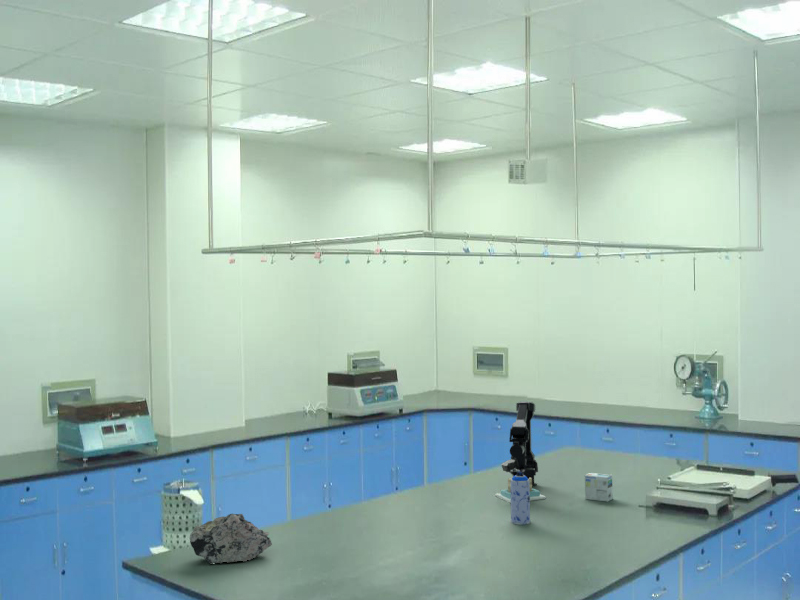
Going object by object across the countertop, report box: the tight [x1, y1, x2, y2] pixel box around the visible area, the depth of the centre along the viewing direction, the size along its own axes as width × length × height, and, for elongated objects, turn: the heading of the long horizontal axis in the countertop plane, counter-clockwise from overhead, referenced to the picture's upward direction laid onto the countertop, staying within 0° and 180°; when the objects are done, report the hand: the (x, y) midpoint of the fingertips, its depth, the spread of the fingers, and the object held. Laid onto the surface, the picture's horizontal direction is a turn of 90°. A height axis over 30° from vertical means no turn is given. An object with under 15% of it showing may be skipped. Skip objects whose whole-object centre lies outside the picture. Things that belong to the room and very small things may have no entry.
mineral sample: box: [189, 513, 273, 565], centre depth 292 cm, size 27×19×15 cm
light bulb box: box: [584, 472, 614, 502], centre depth 368 cm, size 11×7×11 cm, turn 58°
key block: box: [507, 477, 533, 493], centre depth 373 cm, size 10×4×6 cm, turn 111°
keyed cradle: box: [494, 487, 547, 504], centre depth 373 cm, size 14×18×3 cm
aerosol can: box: [510, 471, 531, 526], centre depth 333 cm, size 8×8×20 cm
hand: (520, 488), depth 373 cm, fingers closed on key block, 4 cm apart
